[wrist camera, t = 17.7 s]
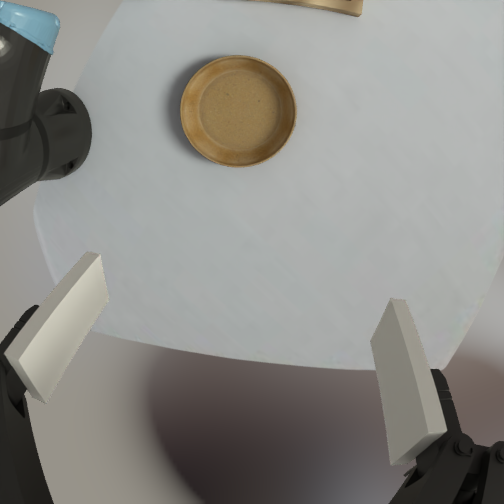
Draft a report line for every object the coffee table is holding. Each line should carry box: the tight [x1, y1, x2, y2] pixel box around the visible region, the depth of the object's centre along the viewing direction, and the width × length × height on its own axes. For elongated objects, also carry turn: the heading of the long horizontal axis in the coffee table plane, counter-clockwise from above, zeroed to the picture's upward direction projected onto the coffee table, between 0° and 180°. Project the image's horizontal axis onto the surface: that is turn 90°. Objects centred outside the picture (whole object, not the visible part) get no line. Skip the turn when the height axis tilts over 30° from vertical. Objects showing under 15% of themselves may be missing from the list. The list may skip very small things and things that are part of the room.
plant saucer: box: [180, 55, 297, 167], centre depth 38 cm, size 15×15×3 cm
